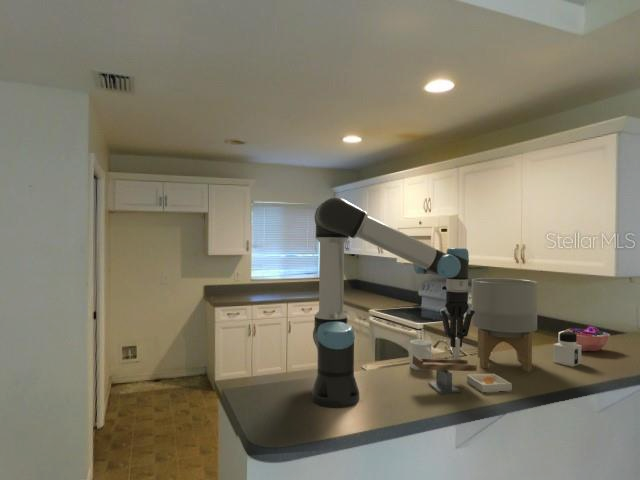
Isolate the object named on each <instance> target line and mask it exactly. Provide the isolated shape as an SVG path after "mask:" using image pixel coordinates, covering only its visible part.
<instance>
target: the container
mask: <svg viewBox="0 0 640 480" xmlns="http://www.w3.org/2000/svg"><path fill="white" fill-rule="evenodd" d="M557 337H558V338H557V339H558V342H557V343H554V344H553V351H552V352H553V355H552V357H553V359H552V360H553V363H555V364H559V365H564V366H568V367H576V366H578V365H581V364H582V350H581V345H577V335H576V334H575V333H573V332H569V331H564V330H562V331H559V332H558V335H557Z"/></svg>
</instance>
